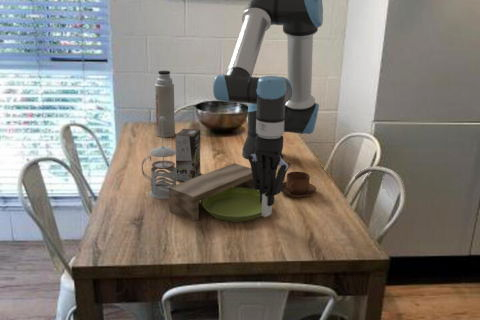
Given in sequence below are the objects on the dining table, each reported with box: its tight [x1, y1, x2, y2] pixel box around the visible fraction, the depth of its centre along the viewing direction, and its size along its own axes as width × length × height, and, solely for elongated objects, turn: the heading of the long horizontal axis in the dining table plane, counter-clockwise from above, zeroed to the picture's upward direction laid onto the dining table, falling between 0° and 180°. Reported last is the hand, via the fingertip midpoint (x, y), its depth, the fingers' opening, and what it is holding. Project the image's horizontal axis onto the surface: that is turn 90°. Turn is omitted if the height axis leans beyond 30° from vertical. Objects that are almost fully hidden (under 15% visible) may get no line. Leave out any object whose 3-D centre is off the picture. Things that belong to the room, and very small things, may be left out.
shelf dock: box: [168, 162, 259, 222], centre depth 154 cm, size 10×29×8 cm, turn 140°
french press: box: [141, 117, 177, 200], centre depth 156 cm, size 10×12×25 cm
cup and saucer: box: [280, 171, 317, 198], centre depth 162 cm, size 12×12×6 cm
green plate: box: [200, 187, 262, 223], centre depth 150 cm, size 21×21×3 cm
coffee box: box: [175, 128, 201, 182], centre depth 172 cm, size 9×6×16 cm
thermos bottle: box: [154, 70, 176, 138], centre depth 218 cm, size 8×8×28 cm
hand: (266, 214), depth 143 cm, fingers closed
